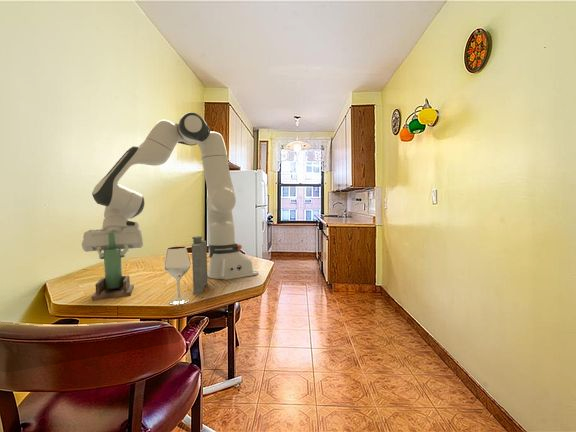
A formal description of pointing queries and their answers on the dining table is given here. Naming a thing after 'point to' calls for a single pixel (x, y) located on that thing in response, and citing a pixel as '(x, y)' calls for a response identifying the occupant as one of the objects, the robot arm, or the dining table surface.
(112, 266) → the bottle
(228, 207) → the robot arm
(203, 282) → the hip flask
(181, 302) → the wineglass
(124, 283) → the u rest
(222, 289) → the dining table surface
